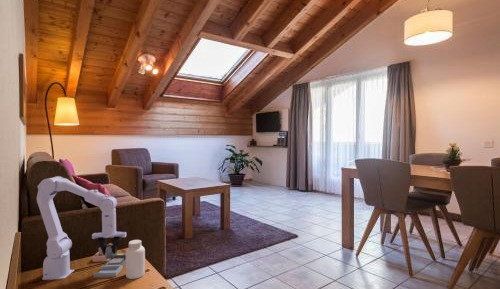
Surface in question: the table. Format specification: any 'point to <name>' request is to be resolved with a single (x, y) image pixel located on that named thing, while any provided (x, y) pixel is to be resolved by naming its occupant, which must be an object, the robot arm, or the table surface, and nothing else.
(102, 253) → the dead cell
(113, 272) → the trough
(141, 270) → the pill bottle
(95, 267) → the table surface
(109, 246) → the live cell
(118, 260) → the pad
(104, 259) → the pink square tube
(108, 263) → the digital scale
